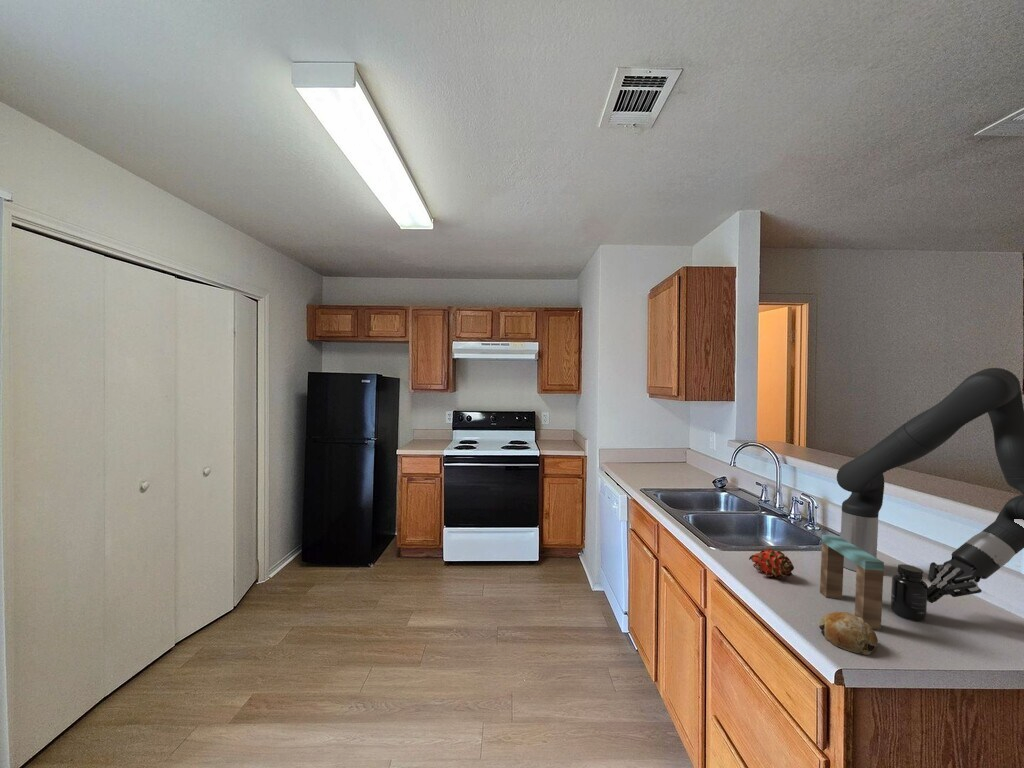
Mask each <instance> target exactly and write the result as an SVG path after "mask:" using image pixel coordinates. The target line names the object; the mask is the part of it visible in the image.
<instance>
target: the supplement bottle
mask: <svg viewBox="0 0 1024 768" xmlns="http://www.w3.org/2000/svg"><path fill="white" fill-rule="evenodd" d="M896 572H897V574H894V575H893V576H892V577H891V586H890V587H891V588H890V589H891V590H890V592H891V593H890V610H891V612H892V613H894V615H897V616H899V617H901V618H903V619H905V620H909V621H913V622H924V621H925V620H926V619H927V614H928V613H927V609H928V601H927V594H928V587H929V586H928V584H927V583H926V582H925V580H923V579H924V571H923V569H921V568H919V567H917V566H915V565H910V564H904V563H900V564H898V565H897V570H896Z"/></svg>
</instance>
